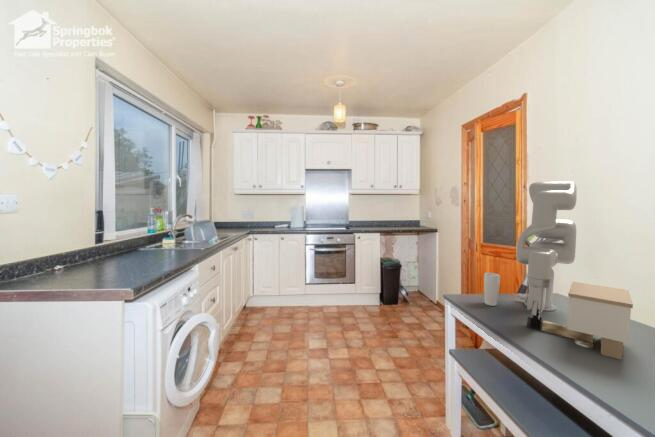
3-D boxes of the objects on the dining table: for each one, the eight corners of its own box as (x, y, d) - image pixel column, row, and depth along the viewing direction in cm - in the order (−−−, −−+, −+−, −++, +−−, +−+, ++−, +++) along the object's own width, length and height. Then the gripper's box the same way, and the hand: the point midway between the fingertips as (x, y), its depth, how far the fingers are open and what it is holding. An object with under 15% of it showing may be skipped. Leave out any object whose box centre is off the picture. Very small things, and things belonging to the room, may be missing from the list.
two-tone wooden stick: (526, 326, 121) (527, 318, 121) (527, 325, 123) (528, 316, 123) (592, 343, 108) (593, 333, 107) (592, 341, 109) (593, 331, 109)
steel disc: (574, 345, 107) (574, 342, 107) (575, 340, 110) (575, 337, 110) (592, 350, 103) (593, 347, 103) (593, 345, 107) (593, 342, 107)
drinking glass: (480, 304, 147) (482, 274, 146) (485, 301, 152) (486, 271, 151) (496, 308, 142) (498, 276, 141) (500, 304, 147) (501, 274, 146)
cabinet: (564, 347, 105) (568, 293, 103) (569, 328, 120) (572, 281, 119) (627, 364, 94) (632, 304, 93) (624, 341, 109) (628, 290, 108)
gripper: (530, 276, 127) (528, 318, 128) (523, 283, 116) (520, 330, 117) (552, 280, 122) (549, 324, 123) (547, 288, 111) (544, 336, 112)
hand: (535, 326), depth 120 cm, fingers closed on two-tone wooden stick, 1 cm apart
